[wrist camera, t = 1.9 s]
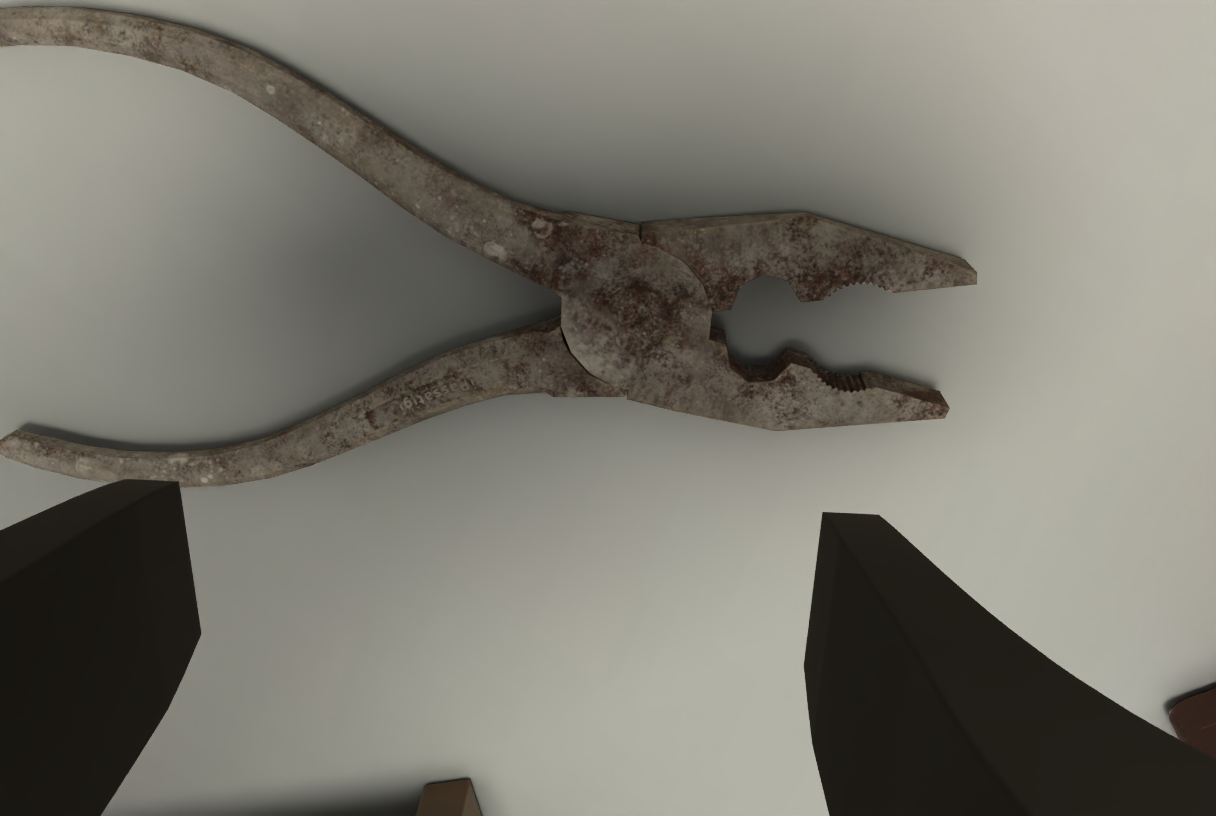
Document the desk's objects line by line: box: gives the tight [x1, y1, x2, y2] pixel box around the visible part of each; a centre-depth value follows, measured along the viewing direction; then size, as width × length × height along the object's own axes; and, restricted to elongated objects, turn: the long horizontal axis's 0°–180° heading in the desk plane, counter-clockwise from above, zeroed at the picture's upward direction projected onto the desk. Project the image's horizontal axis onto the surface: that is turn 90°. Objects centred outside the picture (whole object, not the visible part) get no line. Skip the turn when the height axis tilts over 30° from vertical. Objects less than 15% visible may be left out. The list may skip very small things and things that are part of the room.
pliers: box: [0, 7, 977, 487], centre depth 20 cm, size 10×1×20 cm
